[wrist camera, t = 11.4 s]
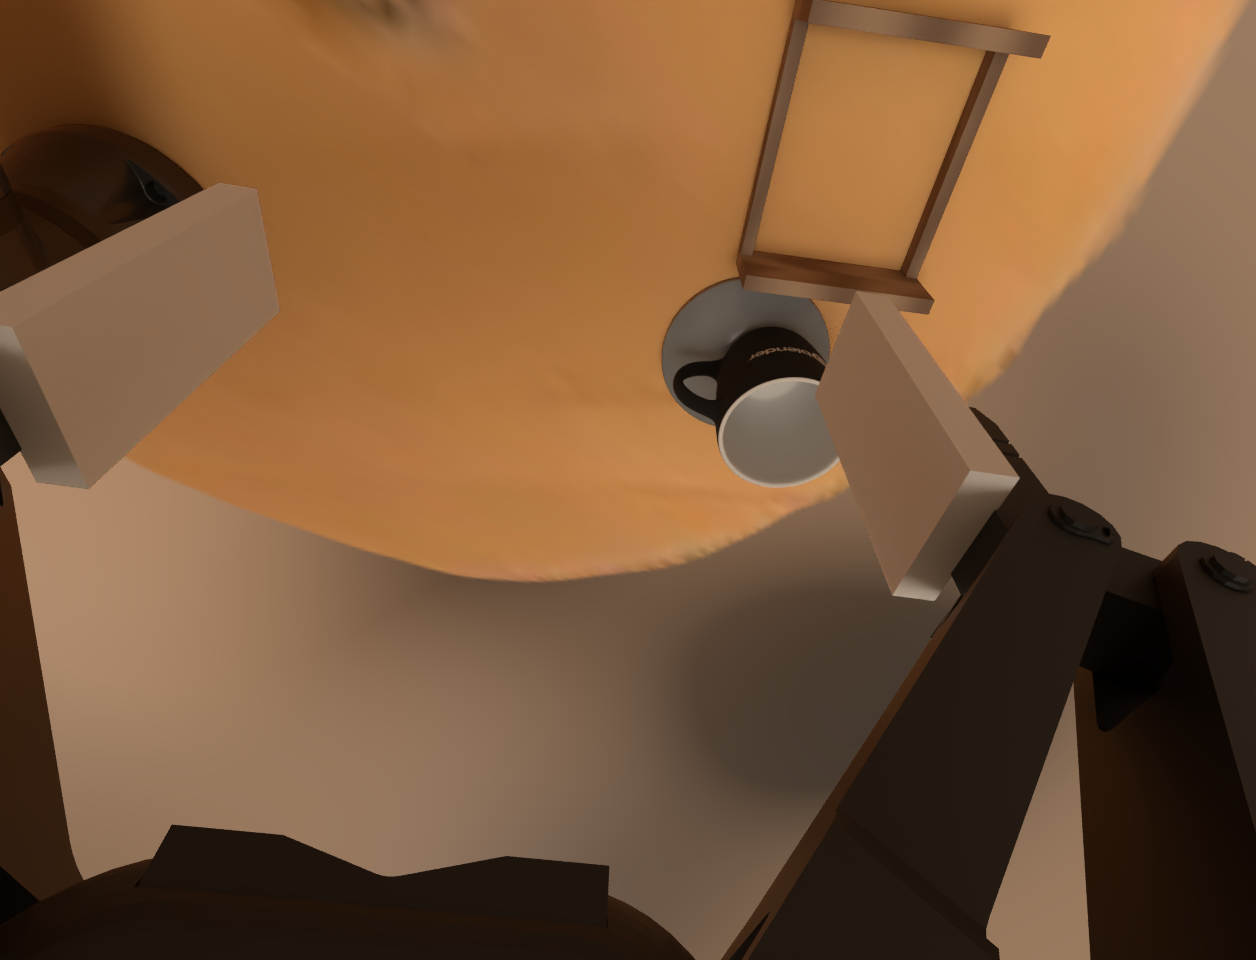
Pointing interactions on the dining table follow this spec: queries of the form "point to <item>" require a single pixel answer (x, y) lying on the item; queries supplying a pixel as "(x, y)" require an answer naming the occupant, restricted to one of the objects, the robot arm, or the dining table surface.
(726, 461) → the mug
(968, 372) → the dining table surface
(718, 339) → the coaster
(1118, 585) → the robot arm
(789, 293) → the frame
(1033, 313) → the dining table surface
